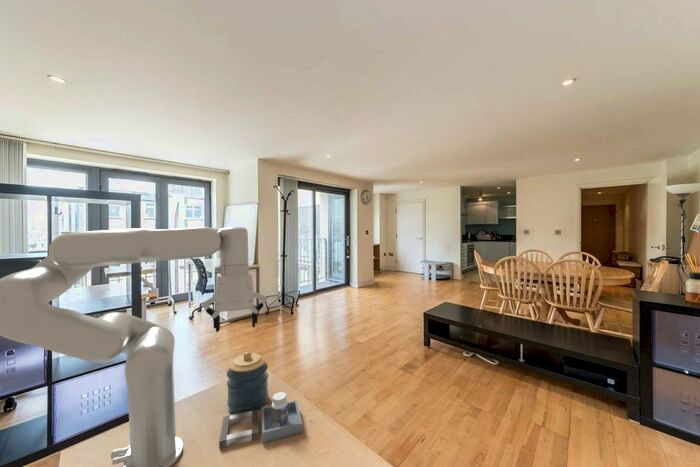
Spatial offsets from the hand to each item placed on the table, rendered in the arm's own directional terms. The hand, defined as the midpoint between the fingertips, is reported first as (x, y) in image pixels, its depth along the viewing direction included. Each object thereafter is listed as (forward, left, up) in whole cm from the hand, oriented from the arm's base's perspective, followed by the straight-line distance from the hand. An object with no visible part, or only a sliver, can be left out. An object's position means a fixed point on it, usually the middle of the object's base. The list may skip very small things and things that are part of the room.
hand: (236, 328), depth 80 cm
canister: (+2, +12, -31) cm, 33 cm away
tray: (+12, -2, -30) cm, 33 cm away
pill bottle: (+12, -2, -30) cm, 32 cm away
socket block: (0, -1, -30) cm, 30 cm away
